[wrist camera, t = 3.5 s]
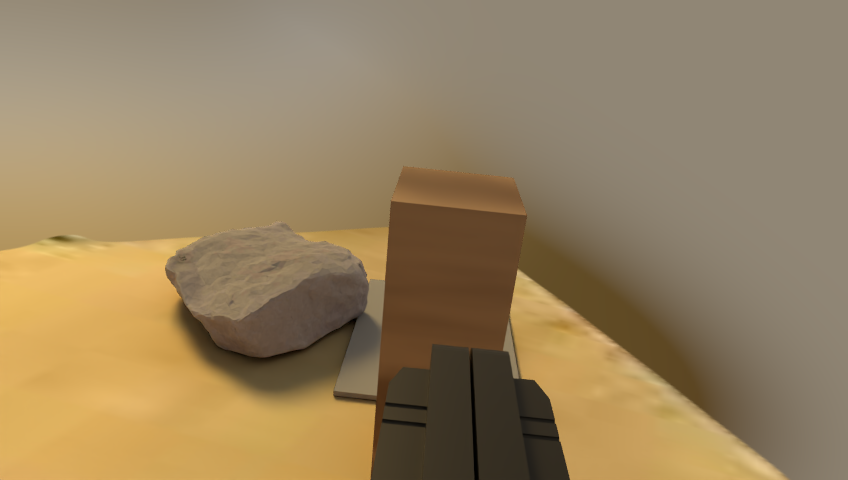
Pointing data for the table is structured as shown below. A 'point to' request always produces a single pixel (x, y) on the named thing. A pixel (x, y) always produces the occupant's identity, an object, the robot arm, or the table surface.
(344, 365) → the felt pad
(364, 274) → the stone block
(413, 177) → the walnut block
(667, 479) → the table surface
